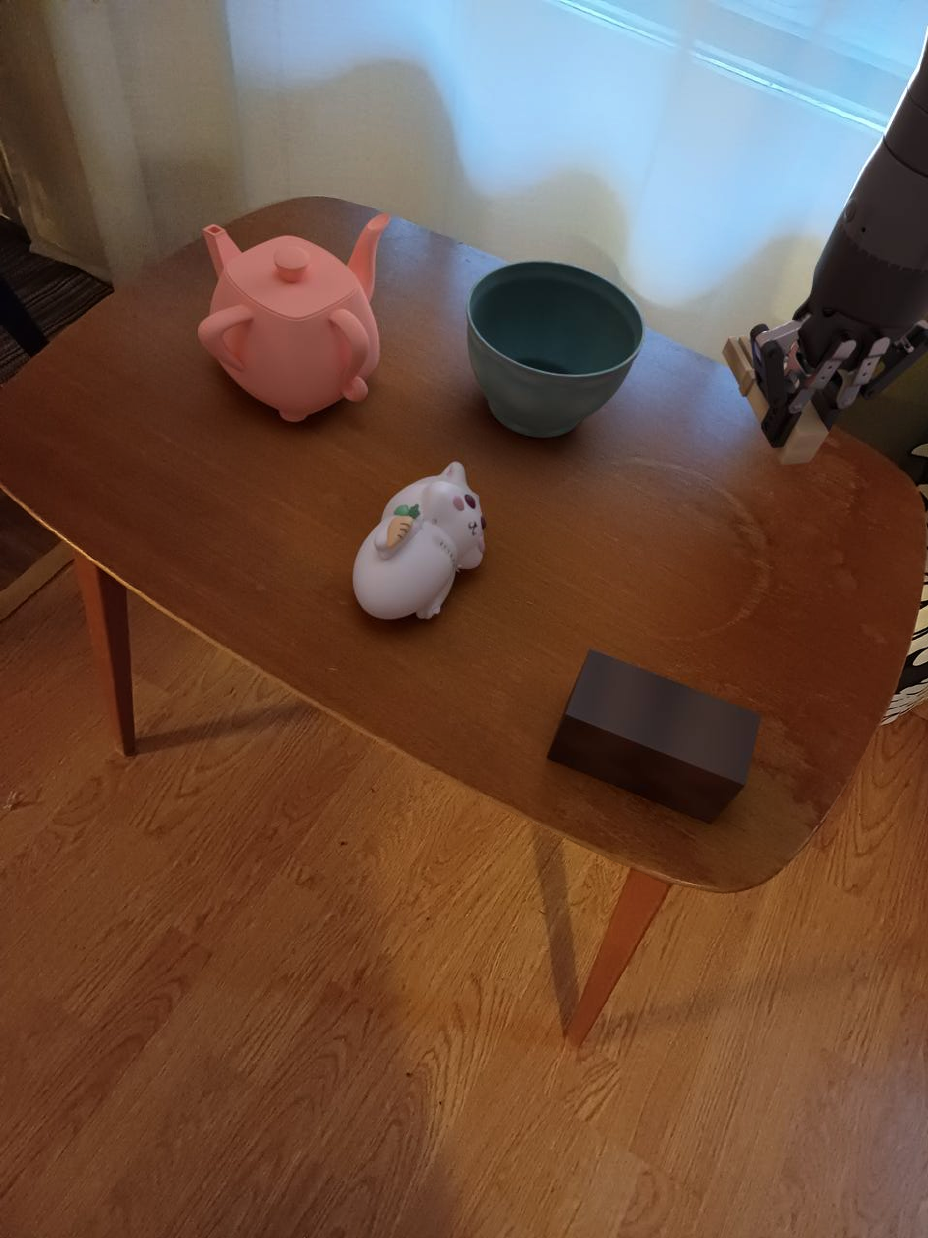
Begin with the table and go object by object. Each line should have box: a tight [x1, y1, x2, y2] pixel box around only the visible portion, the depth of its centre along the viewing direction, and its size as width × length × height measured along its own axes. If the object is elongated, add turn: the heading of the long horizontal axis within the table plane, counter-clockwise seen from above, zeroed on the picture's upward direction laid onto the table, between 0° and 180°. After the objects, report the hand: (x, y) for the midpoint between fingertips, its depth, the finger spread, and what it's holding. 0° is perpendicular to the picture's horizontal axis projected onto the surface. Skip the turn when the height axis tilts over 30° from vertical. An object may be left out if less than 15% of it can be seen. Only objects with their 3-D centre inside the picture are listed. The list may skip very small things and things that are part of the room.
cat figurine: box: [352, 461, 487, 620], centre depth 75 cm, size 10×8×15 cm
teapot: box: [197, 212, 391, 423], centre depth 84 cm, size 16×17×14 cm
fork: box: [721, 335, 830, 466], centre depth 71 cm, size 12×3×3 cm, turn 14°
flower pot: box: [465, 259, 647, 439], centre depth 87 cm, size 16×16×11 cm
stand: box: [546, 647, 762, 825], centre depth 68 cm, size 13×6×7 cm, turn 69°
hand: (790, 437), depth 69 cm, fingers closed on fork, 2 cm apart
